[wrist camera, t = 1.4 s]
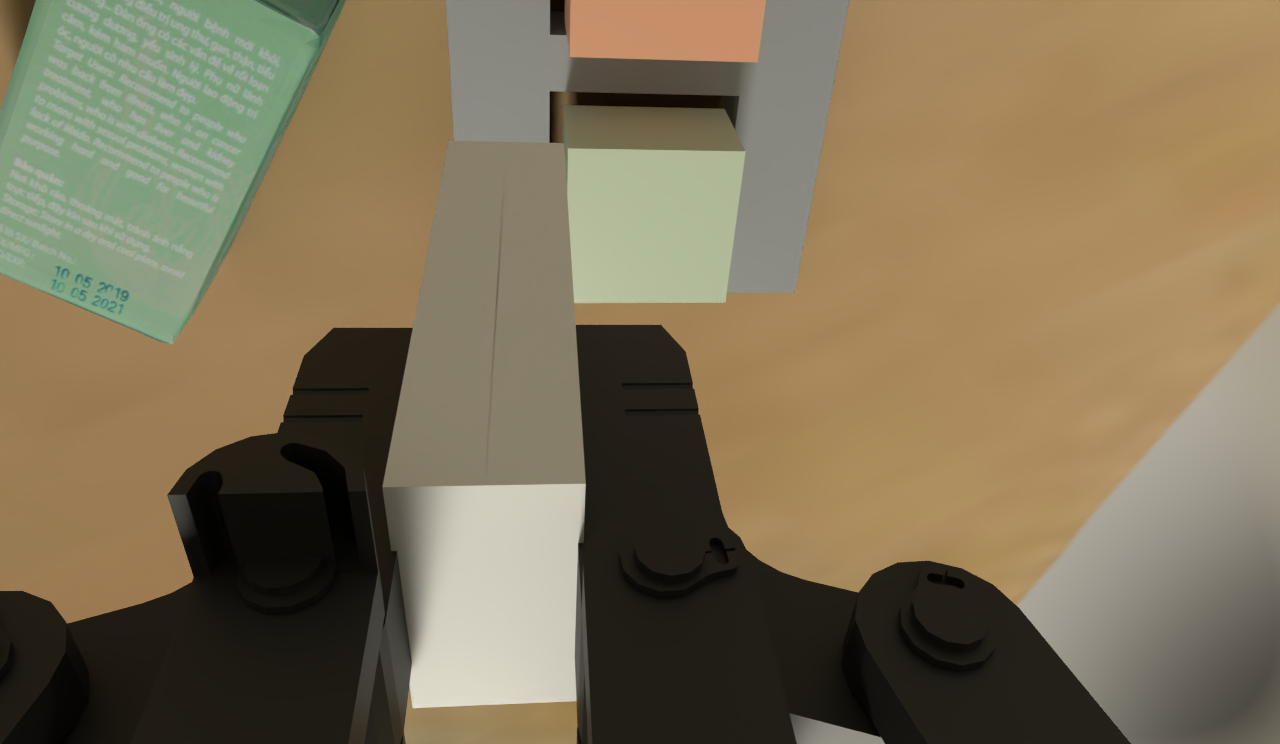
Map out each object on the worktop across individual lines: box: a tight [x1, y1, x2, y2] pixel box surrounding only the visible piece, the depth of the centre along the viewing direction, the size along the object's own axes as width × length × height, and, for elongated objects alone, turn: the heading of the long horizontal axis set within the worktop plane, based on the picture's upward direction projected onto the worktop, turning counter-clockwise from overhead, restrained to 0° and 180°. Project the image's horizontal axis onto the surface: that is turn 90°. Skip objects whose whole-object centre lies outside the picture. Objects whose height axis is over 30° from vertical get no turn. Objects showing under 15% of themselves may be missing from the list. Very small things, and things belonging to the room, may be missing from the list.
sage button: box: [563, 105, 746, 303], centre depth 34 cm, size 6×6×4 cm
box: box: [0, 0, 346, 344], centre depth 32 cm, size 7×14×8 cm, turn 146°
